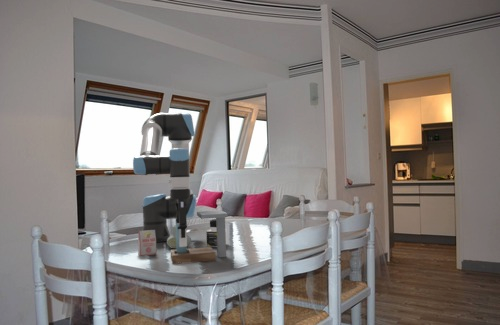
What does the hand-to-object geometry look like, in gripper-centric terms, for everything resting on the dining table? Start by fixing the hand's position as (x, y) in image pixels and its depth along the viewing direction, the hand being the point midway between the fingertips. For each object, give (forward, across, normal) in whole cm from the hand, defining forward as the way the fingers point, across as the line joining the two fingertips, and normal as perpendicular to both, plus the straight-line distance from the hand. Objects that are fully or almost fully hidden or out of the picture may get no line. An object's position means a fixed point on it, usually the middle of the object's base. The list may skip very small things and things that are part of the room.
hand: (181, 243), depth 152 cm
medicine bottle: (+6, -25, +18) cm, 31 cm away
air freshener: (+7, -27, +1) cm, 28 cm away
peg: (+6, 0, 0) cm, 6 cm away
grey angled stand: (+6, 0, +12) cm, 14 cm away
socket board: (+6, 0, +4) cm, 7 cm away
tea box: (+7, -17, -13) cm, 22 cm away
